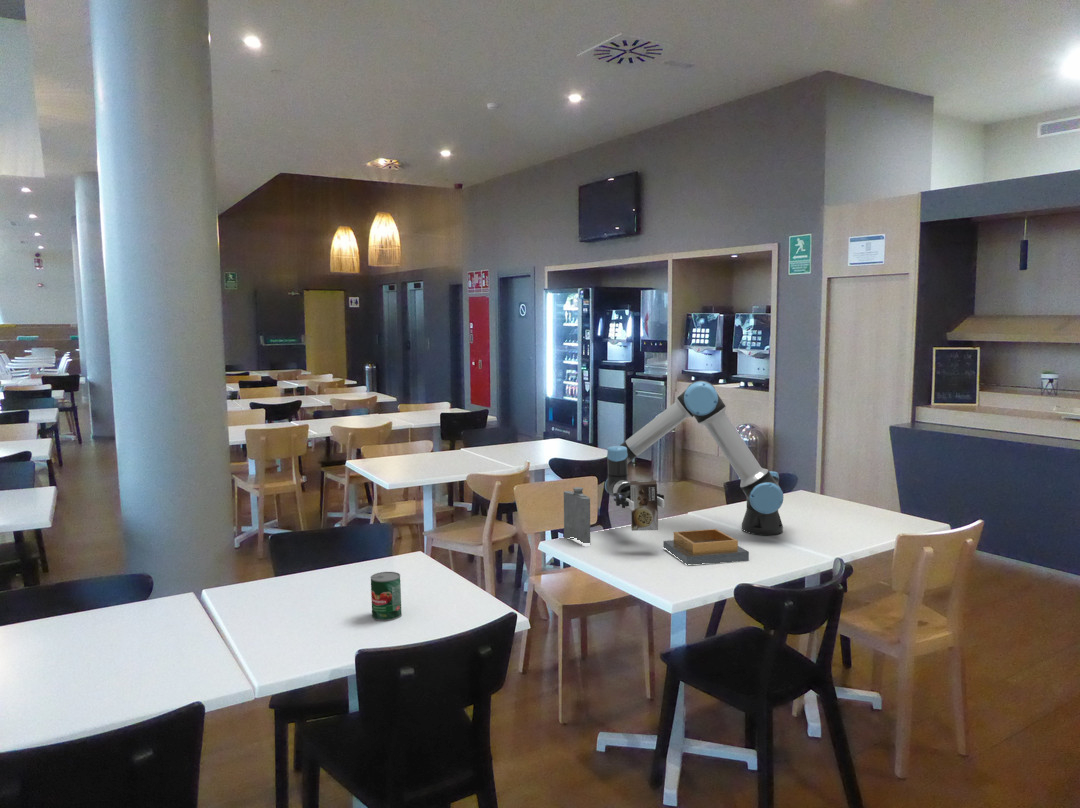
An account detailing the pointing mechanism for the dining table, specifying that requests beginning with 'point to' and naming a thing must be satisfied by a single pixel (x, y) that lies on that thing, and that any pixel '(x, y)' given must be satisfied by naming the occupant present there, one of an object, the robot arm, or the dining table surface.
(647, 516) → the coffee box
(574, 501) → the hip flask
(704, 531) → the square framed tray
